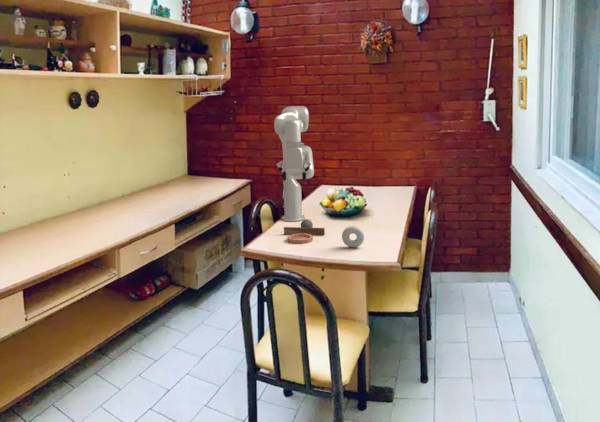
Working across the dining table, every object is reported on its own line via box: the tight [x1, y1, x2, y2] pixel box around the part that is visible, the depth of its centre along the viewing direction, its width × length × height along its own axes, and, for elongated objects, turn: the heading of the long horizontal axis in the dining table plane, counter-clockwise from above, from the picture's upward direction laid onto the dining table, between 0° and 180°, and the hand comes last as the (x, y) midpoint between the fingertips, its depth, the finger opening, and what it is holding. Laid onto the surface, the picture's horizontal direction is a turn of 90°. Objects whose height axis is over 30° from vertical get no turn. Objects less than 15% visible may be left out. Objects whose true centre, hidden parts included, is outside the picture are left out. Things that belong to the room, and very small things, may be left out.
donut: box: [341, 225, 365, 248], centre depth 249 cm, size 10×4×10 cm, turn 76°
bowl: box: [287, 233, 314, 245], centre depth 263 cm, size 12×12×2 cm
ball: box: [300, 218, 314, 228], centre depth 279 cm, size 6×6×6 cm
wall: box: [283, 226, 326, 237], centre depth 273 cm, size 1×20×4 cm, turn 79°
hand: (294, 180), depth 274 cm, fingers open, 9 cm apart
